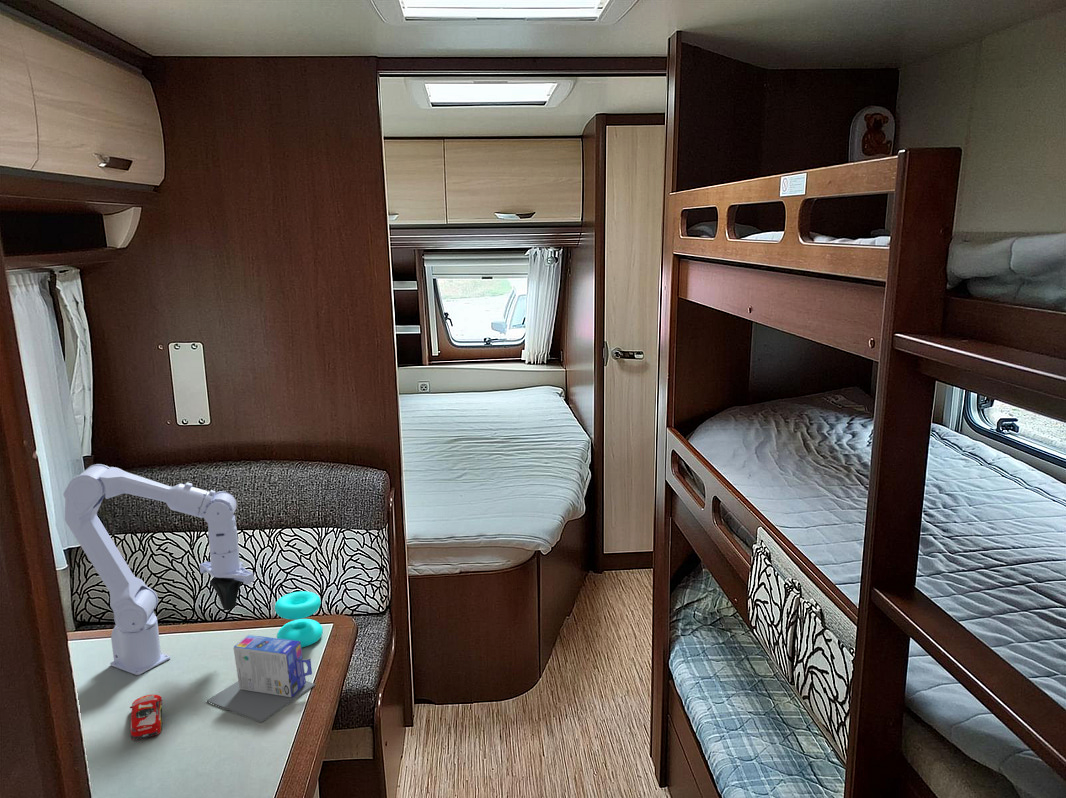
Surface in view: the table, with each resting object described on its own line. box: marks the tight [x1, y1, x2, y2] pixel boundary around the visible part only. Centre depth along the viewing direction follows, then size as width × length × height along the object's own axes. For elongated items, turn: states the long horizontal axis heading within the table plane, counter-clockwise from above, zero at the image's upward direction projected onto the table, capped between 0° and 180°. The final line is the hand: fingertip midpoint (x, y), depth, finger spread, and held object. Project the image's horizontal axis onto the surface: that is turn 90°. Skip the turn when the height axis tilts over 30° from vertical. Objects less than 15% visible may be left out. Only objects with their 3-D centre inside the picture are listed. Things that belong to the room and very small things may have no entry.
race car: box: [129, 694, 163, 741], centre depth 141 cm, size 13×5×4 cm, turn 24°
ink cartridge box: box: [233, 634, 313, 698], centre depth 150 cm, size 10×6×14 cm
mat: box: [206, 680, 316, 724], centre depth 149 cm, size 15×14×1 cm
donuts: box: [274, 590, 324, 648], centre depth 170 cm, size 10×10×10 cm
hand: (229, 608), depth 164 cm, fingers closed
